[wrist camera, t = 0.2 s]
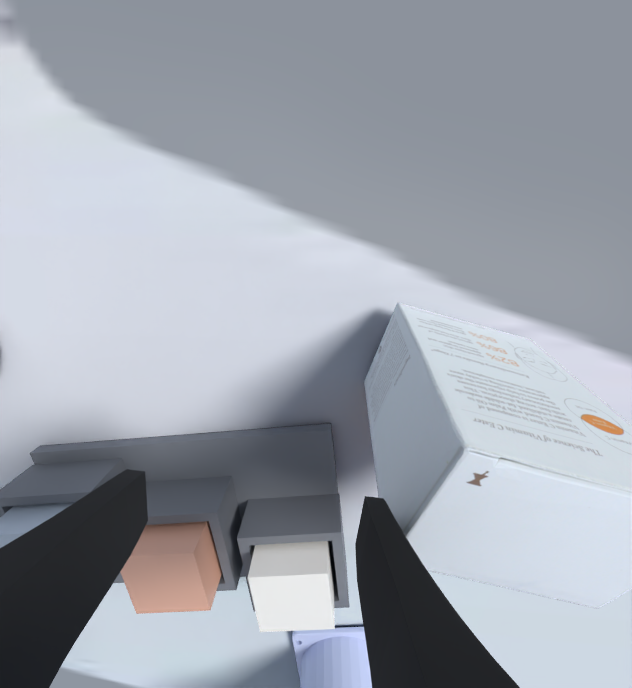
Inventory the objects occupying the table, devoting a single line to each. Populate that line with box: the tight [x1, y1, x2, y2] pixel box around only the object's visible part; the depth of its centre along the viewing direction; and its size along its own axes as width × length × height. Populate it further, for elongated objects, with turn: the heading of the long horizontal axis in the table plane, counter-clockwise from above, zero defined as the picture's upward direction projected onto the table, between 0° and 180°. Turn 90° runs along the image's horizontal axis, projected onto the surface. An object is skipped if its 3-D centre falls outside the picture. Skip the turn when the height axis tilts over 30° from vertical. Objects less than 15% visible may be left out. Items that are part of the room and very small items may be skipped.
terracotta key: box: [120, 521, 222, 614], centre depth 19 cm, size 4×4×2 cm
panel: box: [0, 423, 349, 611], centre depth 21 cm, size 12×20×4 cm, turn 96°
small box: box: [364, 303, 632, 608], centre depth 14 cm, size 8×6×10 cm
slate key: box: [0, 502, 75, 548], centre depth 19 cm, size 4×4×2 cm
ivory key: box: [248, 541, 335, 632], centre depth 19 cm, size 4×4×2 cm
